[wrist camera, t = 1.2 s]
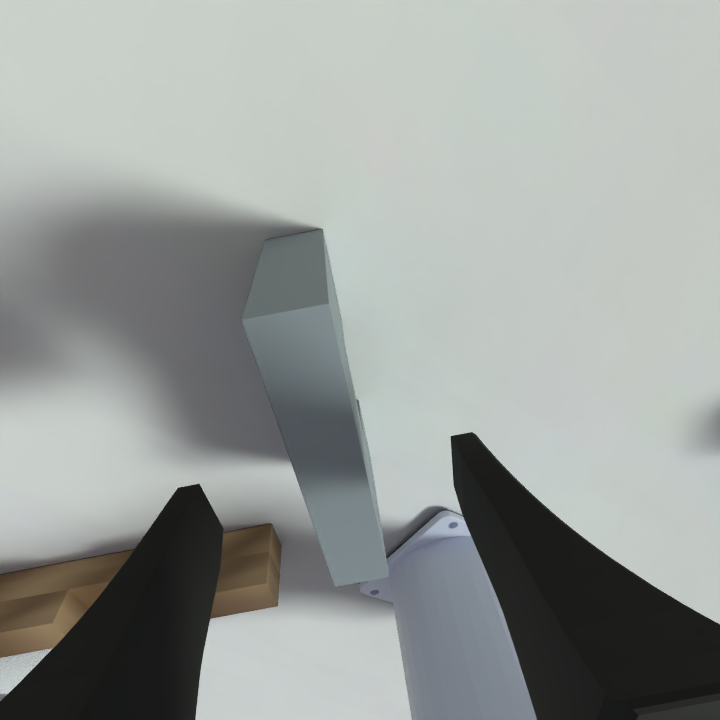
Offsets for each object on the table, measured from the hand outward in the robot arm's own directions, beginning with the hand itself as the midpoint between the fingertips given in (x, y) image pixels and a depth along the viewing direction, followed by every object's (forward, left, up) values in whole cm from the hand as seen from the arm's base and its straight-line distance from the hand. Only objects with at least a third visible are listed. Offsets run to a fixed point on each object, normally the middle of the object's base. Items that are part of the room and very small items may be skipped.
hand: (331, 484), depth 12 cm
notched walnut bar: (+2, +16, -6) cm, 17 cm away
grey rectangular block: (0, 0, -6) cm, 6 cm away
